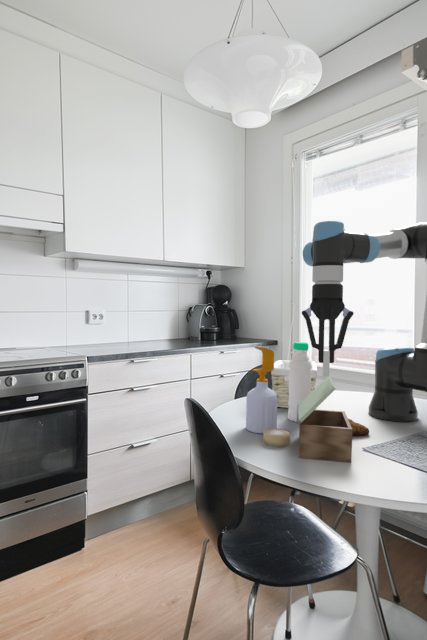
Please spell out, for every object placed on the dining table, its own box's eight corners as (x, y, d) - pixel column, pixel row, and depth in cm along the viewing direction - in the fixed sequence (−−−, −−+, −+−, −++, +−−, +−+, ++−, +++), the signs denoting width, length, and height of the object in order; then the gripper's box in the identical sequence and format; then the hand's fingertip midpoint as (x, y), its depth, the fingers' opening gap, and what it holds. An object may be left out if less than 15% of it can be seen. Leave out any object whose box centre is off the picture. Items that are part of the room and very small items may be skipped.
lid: (330, 377, 110) (328, 375, 111) (336, 389, 95) (332, 386, 95) (298, 409, 112) (296, 406, 113) (299, 425, 97) (296, 422, 97)
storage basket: (275, 394, 166) (276, 358, 166) (315, 396, 163) (316, 360, 162) (269, 408, 143) (270, 367, 143) (316, 412, 139) (317, 370, 139)
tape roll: (290, 439, 111) (290, 430, 111) (289, 447, 104) (289, 438, 104) (264, 436, 112) (264, 428, 112) (262, 445, 106) (262, 436, 106)
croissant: (322, 436, 114) (322, 419, 114) (319, 429, 121) (320, 412, 121) (372, 439, 112) (372, 422, 112) (366, 432, 119) (367, 415, 119)
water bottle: (310, 423, 125) (312, 343, 124) (287, 422, 127) (289, 343, 126) (309, 417, 132) (311, 341, 131) (288, 415, 134) (289, 341, 133)
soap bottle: (239, 428, 119) (241, 346, 118) (259, 422, 126) (260, 344, 125) (263, 436, 113) (265, 349, 112) (282, 429, 119) (284, 347, 118)
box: (343, 440, 111) (344, 411, 110) (351, 462, 95) (352, 429, 95) (299, 436, 113) (299, 408, 113) (299, 457, 97) (300, 425, 97)
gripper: (352, 284, 105) (350, 374, 106) (301, 284, 107) (299, 372, 108) (356, 282, 97) (354, 379, 98) (301, 283, 100) (300, 377, 101)
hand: (325, 375), depth 103 cm, fingers closed
